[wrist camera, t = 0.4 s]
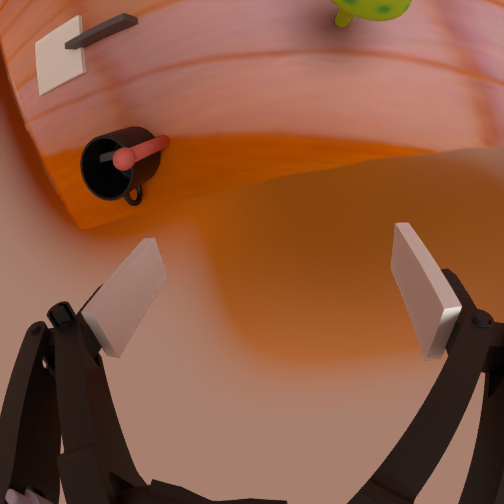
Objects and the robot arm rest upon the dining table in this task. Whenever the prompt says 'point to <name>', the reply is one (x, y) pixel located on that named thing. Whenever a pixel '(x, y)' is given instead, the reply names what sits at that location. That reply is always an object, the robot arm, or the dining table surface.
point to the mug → (107, 175)
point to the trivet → (59, 57)
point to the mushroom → (369, 10)
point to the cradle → (121, 156)
